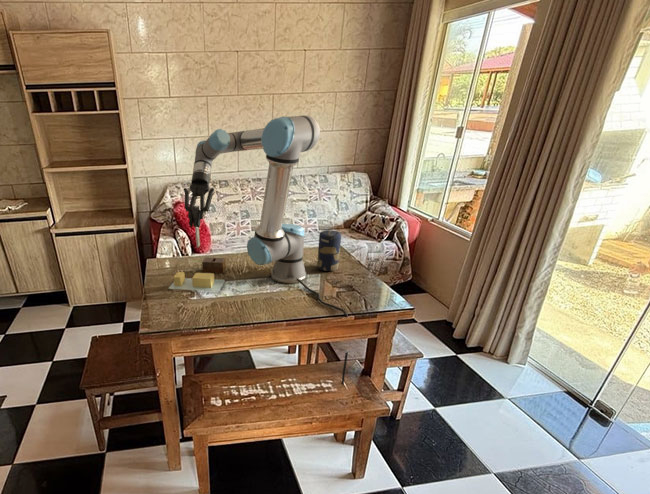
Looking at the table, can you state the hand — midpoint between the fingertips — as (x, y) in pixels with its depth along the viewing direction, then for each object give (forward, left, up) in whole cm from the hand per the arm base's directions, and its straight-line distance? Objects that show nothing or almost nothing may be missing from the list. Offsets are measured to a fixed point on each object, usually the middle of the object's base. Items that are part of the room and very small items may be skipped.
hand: (194, 225), depth 167 cm
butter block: (-6, +1, -24) cm, 25 cm away
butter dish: (-3, +3, -25) cm, 25 cm away
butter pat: (+2, +8, -24) cm, 25 cm away
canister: (-27, -53, -25) cm, 65 cm away
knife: (+3, -3, -10) cm, 11 cm away
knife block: (+5, -12, -25) cm, 28 cm away
